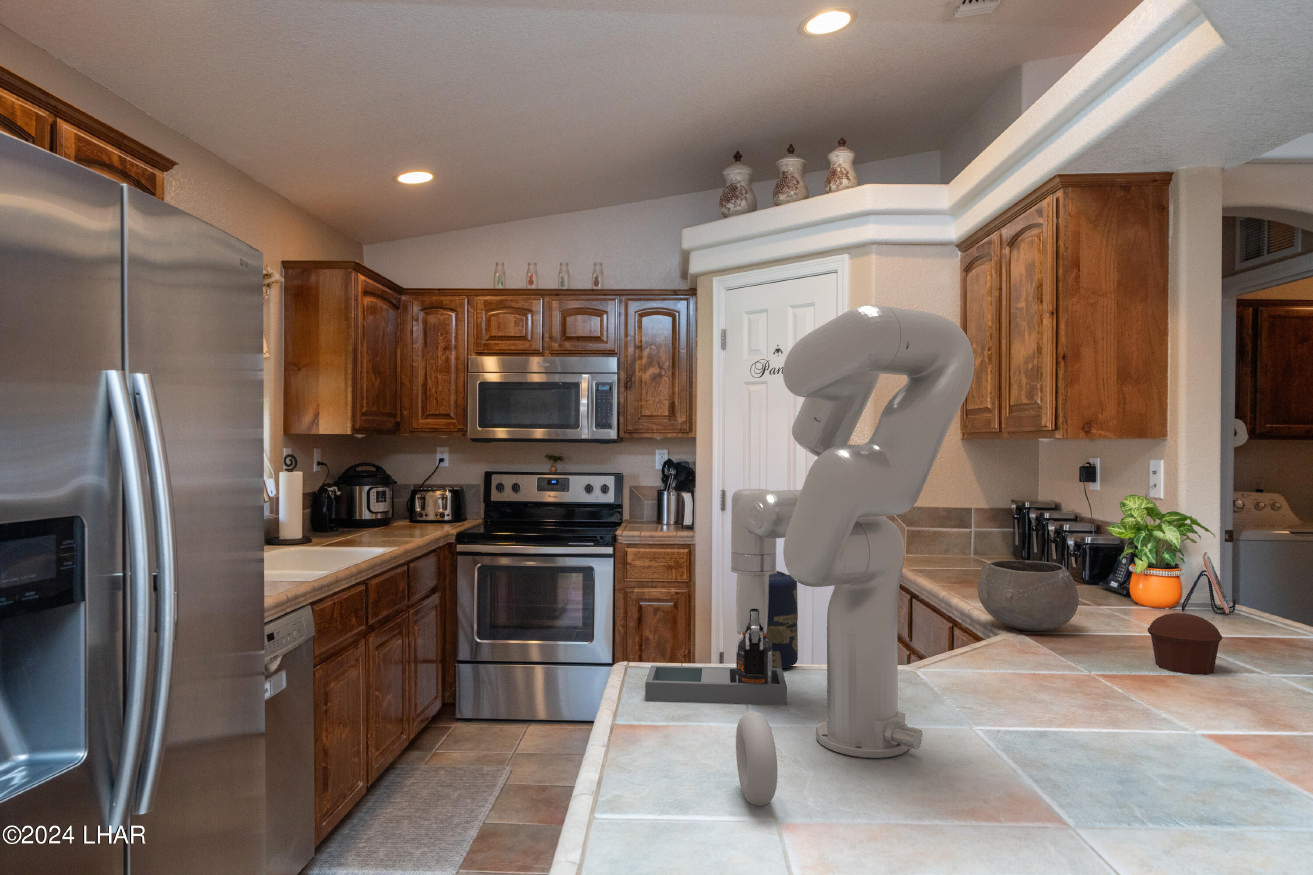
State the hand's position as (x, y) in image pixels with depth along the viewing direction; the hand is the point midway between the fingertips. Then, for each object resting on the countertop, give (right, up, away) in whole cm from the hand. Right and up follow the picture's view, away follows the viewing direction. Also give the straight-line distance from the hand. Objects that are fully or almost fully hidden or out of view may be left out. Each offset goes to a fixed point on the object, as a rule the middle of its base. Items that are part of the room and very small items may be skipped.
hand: (752, 665), depth 127 cm
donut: (-5, -4, -40) cm, 40 cm away
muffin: (+83, -6, +16) cm, 85 cm away
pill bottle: (0, -5, 0) cm, 5 cm away
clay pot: (+70, -6, +49) cm, 85 cm away
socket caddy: (-6, -5, 0) cm, 8 cm away
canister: (+6, -5, +18) cm, 19 cm away
